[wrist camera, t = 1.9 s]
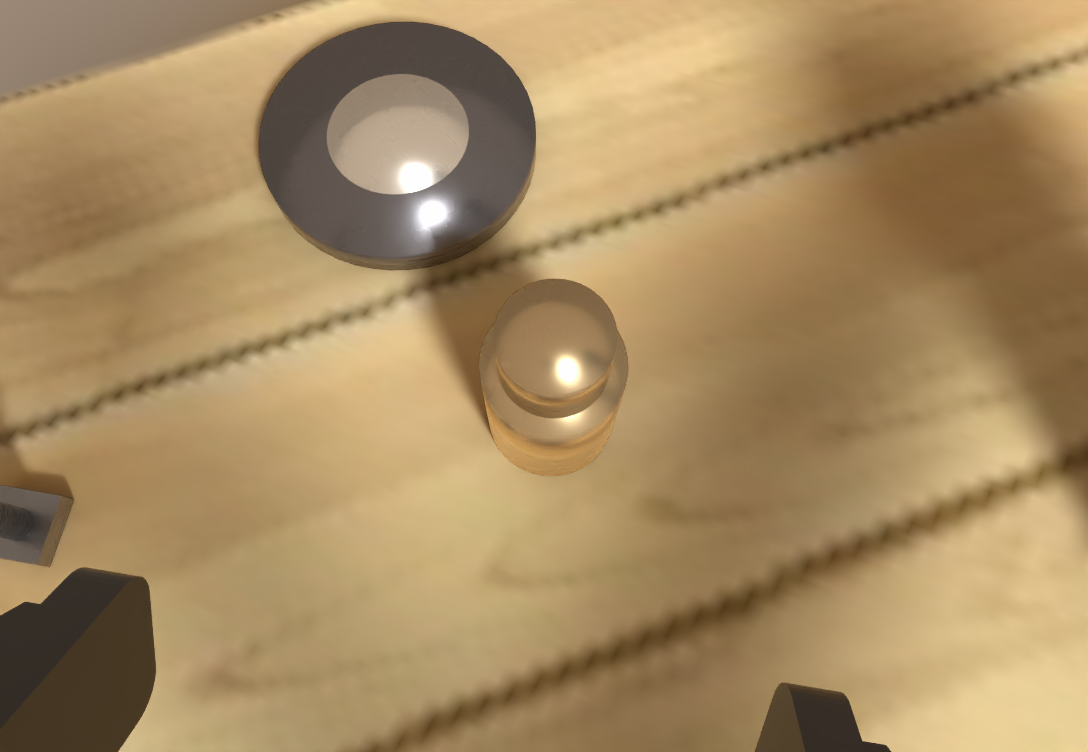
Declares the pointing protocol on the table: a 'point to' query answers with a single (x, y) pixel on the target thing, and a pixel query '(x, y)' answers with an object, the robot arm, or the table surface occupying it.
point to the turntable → (399, 145)
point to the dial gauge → (31, 524)
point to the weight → (552, 376)
